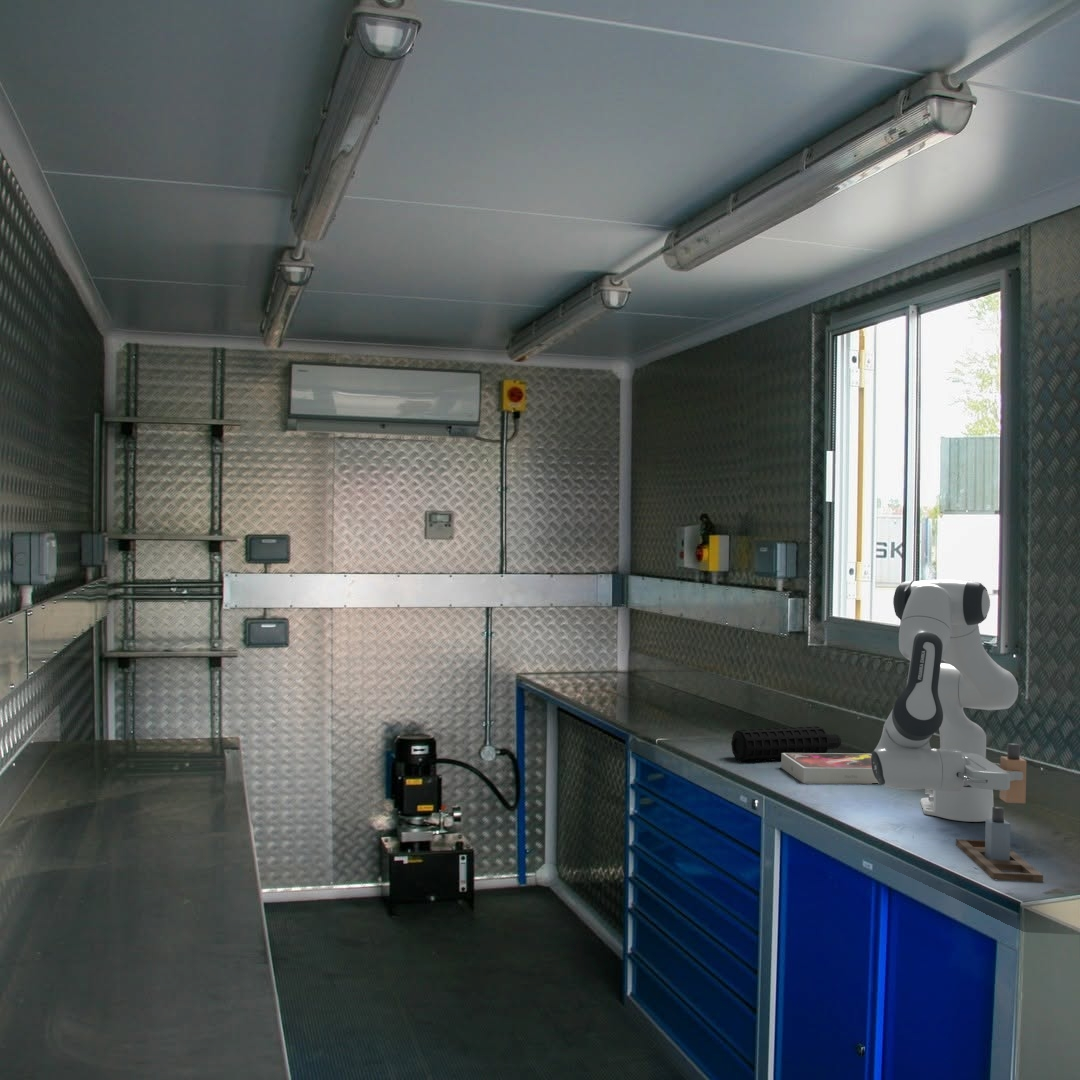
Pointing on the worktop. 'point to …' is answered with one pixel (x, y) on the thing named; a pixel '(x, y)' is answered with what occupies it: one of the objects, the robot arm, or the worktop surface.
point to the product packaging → (829, 768)
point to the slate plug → (997, 836)
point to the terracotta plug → (1016, 786)
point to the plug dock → (999, 863)
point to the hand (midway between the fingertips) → (1017, 772)
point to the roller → (781, 742)
